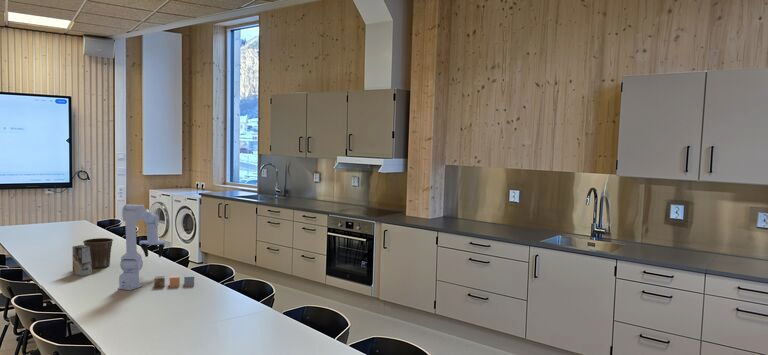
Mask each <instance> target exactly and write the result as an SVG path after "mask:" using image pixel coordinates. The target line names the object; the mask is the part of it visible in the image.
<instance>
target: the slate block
mask: <svg viewBox="0 0 768 355" xmlns="http://www.w3.org/2000/svg"><path fill="white" fill-rule="evenodd" d="M183 278H184V280H183V281H184V282H183V283H184V287H187V286H188V287H190V286H193V287H194V286H195V274H184V276H183Z"/></svg>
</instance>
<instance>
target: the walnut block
mask: <svg viewBox="0 0 768 355" xmlns="http://www.w3.org/2000/svg"><path fill="white" fill-rule="evenodd" d="M165 278H166V277H165V275H159V276H157V275H156V276H154V286H153V288H154V289H155V288H157V289H158V288H165V287H166V284H165V282H166V281H165V280H166V279H165Z"/></svg>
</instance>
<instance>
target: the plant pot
mask: <svg viewBox="0 0 768 355" xmlns="http://www.w3.org/2000/svg"><path fill="white" fill-rule="evenodd" d="M113 242H114V239H113V238H110V237H109V238H108V237H100V238H99V237H97V238H90V239H84V240H83V241H82V243H83V245H85V246H91V247H92V269H96V268H99V269H103V268H107V267H110V264H111V255H112V254H111V252H112V246H113Z"/></svg>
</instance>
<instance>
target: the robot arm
mask: <svg viewBox="0 0 768 355" xmlns="http://www.w3.org/2000/svg"><path fill="white" fill-rule="evenodd" d="M121 211H122V212H121V213H122V216H121V218H122V221H124V222H125V223H124V224H125V225H124V226H125V246H126V249H125V250H126V253H124V254H123V255H122V256H121V257H120V263H119V266H120V269H121V270H122V273H121V274H119V277H118V278H119V279H118V287H117V289H118V290H125V291H132V290H135V289H138V288H143V284H140V271H141V270H142V269H143V264H144V261H143V258H142V255H141V254H140V252H139V253H138V251H137V249H138V248H137V245H138V244H137V222H141V220H143V222H144V224H146V239H147V240H139V246H140V248H141V250H142V251H143V253H144V256H145V257H146V258H147V257H148V256H149V246H150V245H151V246H152V245H153V246H157V250H158V258H161V257H162V254H163V250H164V248H165V246H166V245H167V241H166V240H159V233H158V232H159V231H158V227H159V221H160V216H159V215H158V214H157V213H156V214H155V213H153V212H152V211H151V210H150V209H147V208H146V207H145V205H144V204H128V203H125V204H124V205H123V207H122V209H121Z"/></svg>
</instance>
